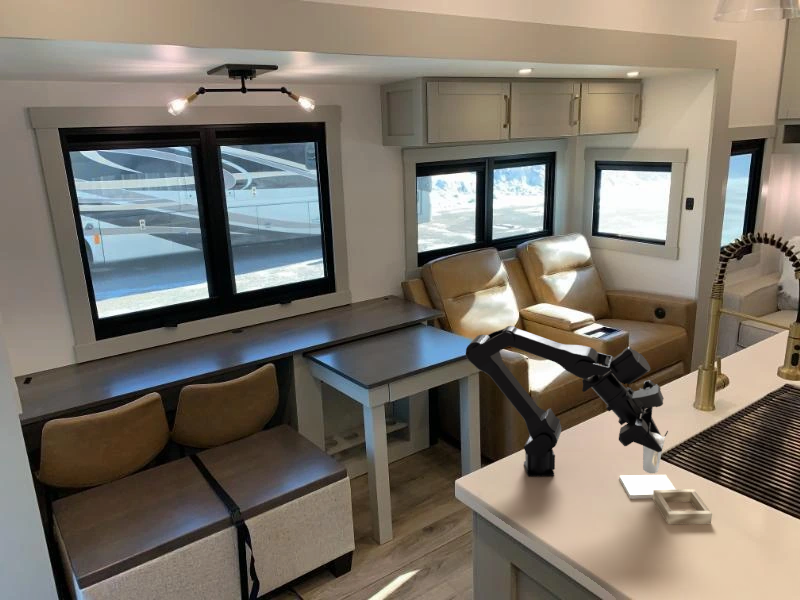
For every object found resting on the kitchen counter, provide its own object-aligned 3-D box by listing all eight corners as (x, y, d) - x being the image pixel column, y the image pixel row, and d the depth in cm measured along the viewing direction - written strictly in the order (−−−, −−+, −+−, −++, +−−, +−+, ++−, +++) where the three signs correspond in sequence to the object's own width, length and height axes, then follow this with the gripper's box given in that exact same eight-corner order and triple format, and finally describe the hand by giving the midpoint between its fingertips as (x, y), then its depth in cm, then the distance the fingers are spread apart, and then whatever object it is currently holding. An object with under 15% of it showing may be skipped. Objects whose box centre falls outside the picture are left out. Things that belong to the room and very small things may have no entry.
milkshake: (667, 475, 139) (672, 435, 136) (644, 475, 139) (648, 435, 136) (659, 464, 143) (664, 426, 141) (636, 464, 143) (640, 426, 141)
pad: (630, 498, 140) (630, 494, 140) (619, 479, 148) (619, 475, 147) (678, 497, 139) (679, 493, 139) (665, 478, 147) (665, 474, 147)
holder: (668, 524, 131) (669, 514, 130) (652, 499, 139) (653, 490, 139) (710, 523, 130) (712, 513, 130) (692, 498, 139) (693, 489, 138)
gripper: (639, 391, 128) (691, 448, 127) (645, 360, 144) (691, 410, 143) (598, 418, 133) (647, 473, 132) (608, 385, 150) (652, 434, 148)
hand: (661, 446), depth 139 cm, fingers closed on milkshake, 4 cm apart
